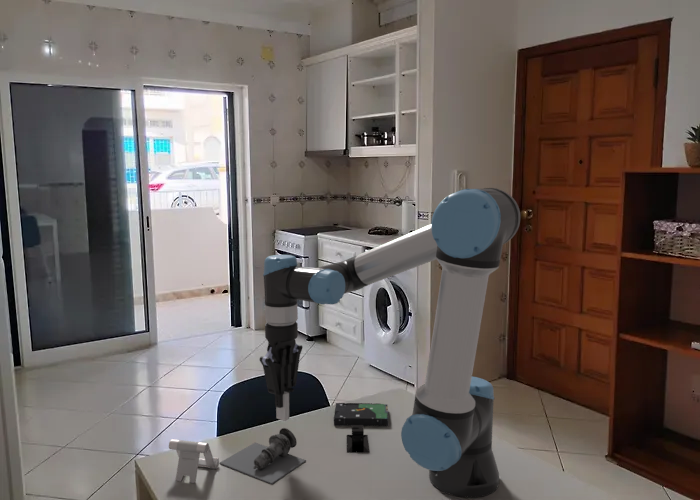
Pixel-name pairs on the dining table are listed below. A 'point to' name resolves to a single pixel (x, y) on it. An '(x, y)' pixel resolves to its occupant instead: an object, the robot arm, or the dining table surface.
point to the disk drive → (361, 414)
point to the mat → (269, 474)
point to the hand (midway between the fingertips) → (282, 418)
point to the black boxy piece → (357, 440)
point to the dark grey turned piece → (276, 448)
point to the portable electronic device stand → (192, 458)
